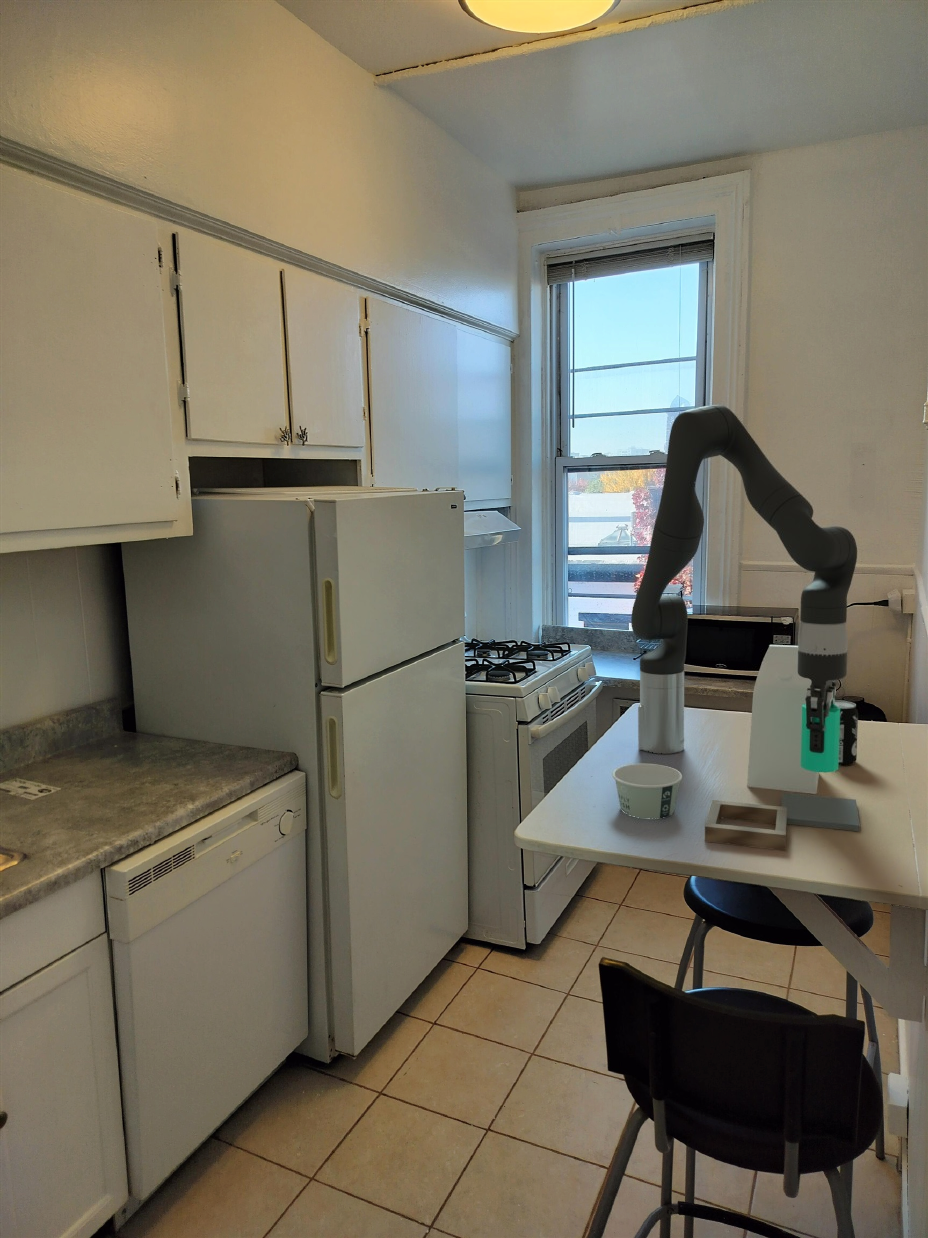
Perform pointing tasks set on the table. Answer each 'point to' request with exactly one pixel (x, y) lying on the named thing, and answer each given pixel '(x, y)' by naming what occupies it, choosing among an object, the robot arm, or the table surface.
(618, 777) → the food container
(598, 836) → the table surface
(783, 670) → the milk
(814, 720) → the candle
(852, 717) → the beverage can
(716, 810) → the open wooden box
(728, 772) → the table surface
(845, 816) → the plate
